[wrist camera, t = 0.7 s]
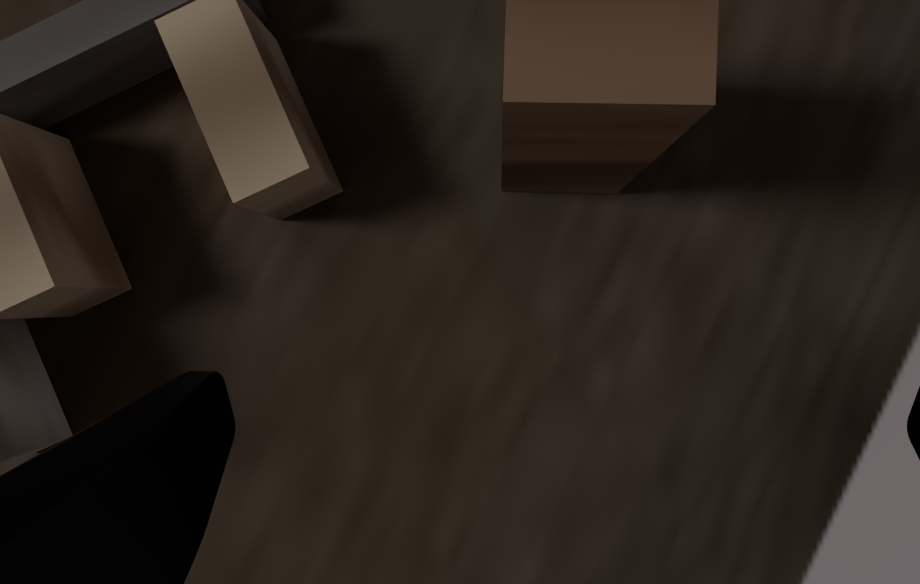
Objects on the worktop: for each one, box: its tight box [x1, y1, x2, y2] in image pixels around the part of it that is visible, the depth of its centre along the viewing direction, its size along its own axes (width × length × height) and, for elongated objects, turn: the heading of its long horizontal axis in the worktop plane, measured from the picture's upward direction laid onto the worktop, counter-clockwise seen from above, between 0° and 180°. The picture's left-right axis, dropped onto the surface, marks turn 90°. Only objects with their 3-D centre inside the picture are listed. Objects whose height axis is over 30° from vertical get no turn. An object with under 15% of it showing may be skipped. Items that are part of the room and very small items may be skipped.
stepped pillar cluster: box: [0, 0, 343, 464], centre depth 20 cm, size 14×14×6 cm
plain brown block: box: [501, 0, 719, 194], centre depth 17 cm, size 4×4×10 cm
